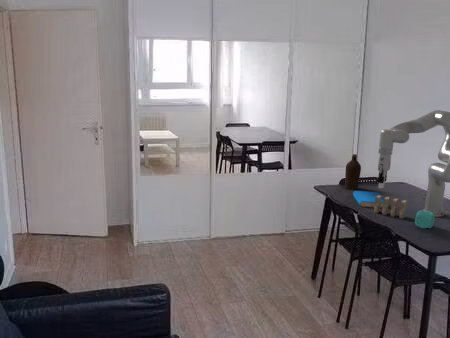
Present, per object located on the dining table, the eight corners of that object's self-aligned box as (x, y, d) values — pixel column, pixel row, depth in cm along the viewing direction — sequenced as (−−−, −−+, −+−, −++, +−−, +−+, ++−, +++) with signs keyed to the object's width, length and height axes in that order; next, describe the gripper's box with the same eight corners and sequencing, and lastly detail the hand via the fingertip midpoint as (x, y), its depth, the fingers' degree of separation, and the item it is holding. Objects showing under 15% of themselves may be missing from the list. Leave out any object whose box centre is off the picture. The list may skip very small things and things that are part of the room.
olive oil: (358, 191, 331) (361, 156, 326) (342, 189, 335) (346, 155, 329) (359, 187, 341) (363, 154, 335) (344, 185, 345) (348, 152, 339)
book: (378, 192, 318) (388, 202, 293) (377, 198, 319) (387, 208, 294) (352, 190, 319) (360, 200, 294) (352, 196, 320) (359, 207, 295)
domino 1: (379, 211, 286) (381, 195, 284) (377, 213, 282) (378, 197, 280) (376, 210, 287) (378, 195, 285) (373, 212, 283) (375, 196, 281)
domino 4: (404, 216, 278) (406, 200, 276) (402, 218, 274) (404, 202, 272) (401, 215, 279) (403, 199, 277) (399, 218, 275) (401, 201, 273)
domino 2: (387, 213, 284) (389, 197, 281) (385, 215, 280) (387, 199, 277) (384, 212, 285) (386, 196, 282) (382, 214, 281) (383, 198, 278)
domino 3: (396, 214, 281) (398, 198, 279) (393, 216, 277) (395, 200, 275) (392, 214, 282) (394, 198, 280) (390, 216, 278) (392, 200, 276)
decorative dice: (418, 222, 268) (420, 209, 266) (433, 226, 263) (435, 212, 261) (414, 226, 262) (416, 212, 260) (428, 229, 257) (430, 216, 255)
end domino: (384, 186, 274) (386, 170, 272) (381, 188, 270) (383, 171, 268) (380, 186, 275) (382, 169, 273) (378, 187, 271) (380, 171, 269)
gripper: (388, 154, 259) (384, 185, 263) (395, 150, 273) (392, 180, 277) (374, 152, 263) (371, 183, 267) (382, 148, 277) (379, 178, 281)
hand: (381, 181), depth 272 cm, fingers closed on end domino, 4 cm apart
